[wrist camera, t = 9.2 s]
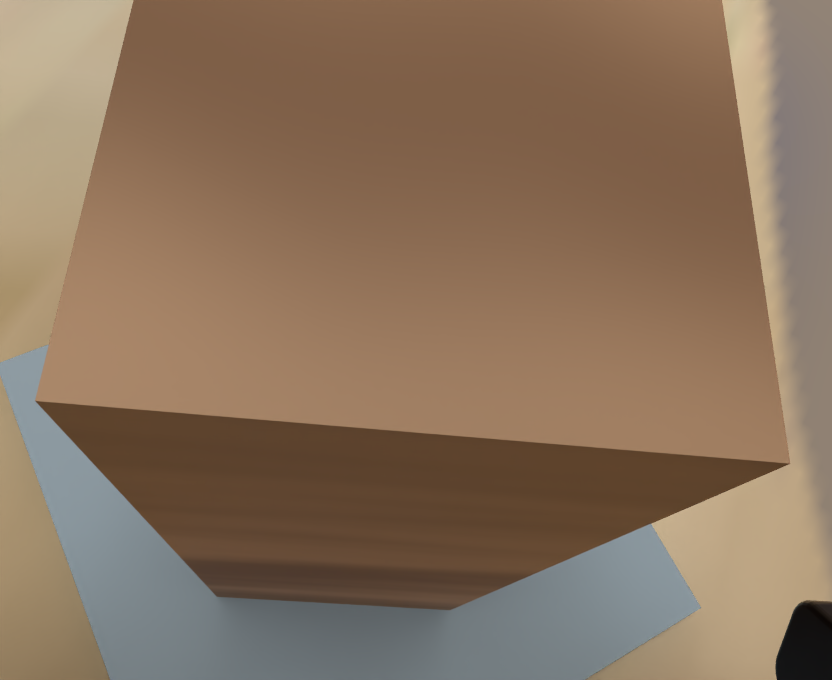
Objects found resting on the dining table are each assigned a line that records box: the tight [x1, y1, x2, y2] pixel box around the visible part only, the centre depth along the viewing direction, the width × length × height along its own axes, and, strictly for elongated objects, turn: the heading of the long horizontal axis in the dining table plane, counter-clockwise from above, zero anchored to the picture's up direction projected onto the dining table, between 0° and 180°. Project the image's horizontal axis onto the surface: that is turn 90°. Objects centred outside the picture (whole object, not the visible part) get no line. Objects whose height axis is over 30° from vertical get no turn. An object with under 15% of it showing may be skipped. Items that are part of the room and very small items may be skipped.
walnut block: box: [35, 0, 790, 610], centre depth 12 cm, size 5×5×13 cm
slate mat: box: [0, 345, 701, 680], centre depth 18 cm, size 12×12×1 cm
